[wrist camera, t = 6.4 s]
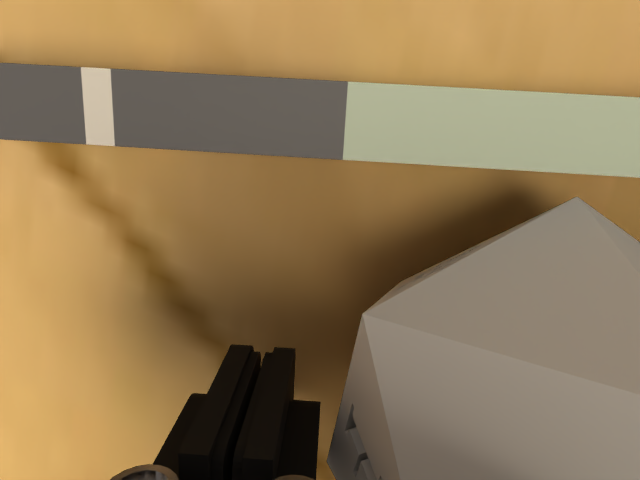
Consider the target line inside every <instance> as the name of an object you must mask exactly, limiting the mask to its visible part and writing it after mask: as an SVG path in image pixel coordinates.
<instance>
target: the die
mask: <svg viewBox="0 0 640 480" xmlns="http://www.w3.org/2000/svg"><path fill="white" fill-rule="evenodd" d="M327 463H328V465H329V467H330V469H331V471H332V473H333V474H334V476H335V478H336V480H640V242H639V241H637V240H636V239H634V238H633V237H632V236H630V235H629V234H628V233H626V232H625V231H624V230H622V229H621V228H619V227H618V226H617V225H615V224H614V223H613V222H611V221H610V220H609V219H607V218H606V217H604V216H603V215H602V214H600V213H599V212H598V211H596V210H595V209H593V208H592V207H591V206H589V205H588V204H587V203H585V202H584V201H583V200H581V199H580V198H578V197H575V198H573V199H571V200H569V201H567V202H565V203H563V204H560V205H558V206H556V207H554V208H552V209H550V210H548V211H546V212H544V213H542V214H540V215H538V216H535V217H533V218H531V219H529V220H527V221H525V222H523V223H521V224H519V225H517V226H515V227H513V228H511V229H508V230H506V231H504V232H502V233H500V234H498V235H496V236H494V237H492V238H490V239H488V240H486V241H483V242H481V243H479V244H477V245H475V246H473V247H471V248H469V249H467V250H465V251H463V252H461V253H459V254H456V255H454V256H452V257H450V258H448V259H446V260H444V261H442V262H440V263H438V264H436V265H434V266H431V267H429V268H427V269H425V270H423V271H421V272H419V273H417V274H415V275H413V276H411V277H409V278H407V279H404V280H402V281H401V282H400V283H398V284H397V285H396V286H395V287H394V288H392V289H391V290H390V291H389V292H388V293H387V294H385V295H384V296H383V297H382V298H381V299H379V300H378V301H377V302H376V303H375V304H373V305H372V306H371V307H370V308H369V309H368V310H366V311H365V312H364V313H363V314H362V318H361V322H360V326H359V330H358V334H357V338H356V342H355V346H354V351H353V355H352V359H351V363H350V367H349V371H348V375H347V380H346V384H345V388H344V392H343V396H342V400H341V404H340V408H339V413H338V417H337V421H336V425H335V429H334V433H333V437H332V441H331V446H330V450H329V454H328V458H327Z"/></svg>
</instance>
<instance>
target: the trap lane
mask: <svg viewBox="0 0 640 480" xmlns="http://www.w3.org/2000/svg"><path fill="white" fill-rule="evenodd" d="M0 139H5V140H21V141H38V142H55V143H71V144H88V145H105V146H121V147H138V148H155V149H171V150H188V151H204V152H221V153H238V154H254V155H271V156H288V157H304V158H321V159H338V160H354V161H371V162H387V163H404V164H421V165H437V166H454V167H471V168H487V169H504V170H521V171H537V172H554V173H571V174H587V175H604V176H620V177H637V178H640V97H623V96H605V95H586V94H568V93H549V92H531V91H512V90H494V89H476V88H457V87H439V86H420V85H402V84H383V83H365V82H346V81H328V80H309V79H291V78H273V77H254V76H236V75H217V74H199V73H180V72H162V71H143V70H125V69H106V68H88V67H69V66H51V65H33V64H14V63H0Z"/></svg>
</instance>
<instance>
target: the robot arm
mask: <svg viewBox="0 0 640 480" xmlns="http://www.w3.org/2000/svg"><path fill="white" fill-rule="evenodd" d="M294 377H295V349H293V348H278V347H274V350H273V353H269V352H266V353H265V356H264V359H263V362H262V366H261V354H260V352H254V349H253V346H248V345H231V346H230V348H229V350H228V352H227V354H226V356H225V358H224V360H223V362H222V364H221V366H220V368H219V371H218V373H217V375H216V377H215V379H214V381H213V383H212V385H211V387H210V389H209V391H208V393H207V394H198V393H193V394H191V396H190V397H189V399H188V401H187V403H186V404H185V406H184V408H183V410H182V412H181V413H180V415H179V417H178V419H177V421H176V423H175V424H174V426H173V428H172V430H171V432H170V434H169V435H168V437H167V439H166V441H165V443H164V445H163V446H162V448H161V450H160V452H159V454H158V456H157V457H156V459H155V461H154V463H153V465H152V464H147V465H140V466H135V467H133V468H130V469H127V470H124V471H122V472H121V473H119V474H117V475H116V476H114V477H112V478H111V479H110V480H316V468H317V451H318V435H319V418H320V402H315V401H300V400H294Z"/></svg>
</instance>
